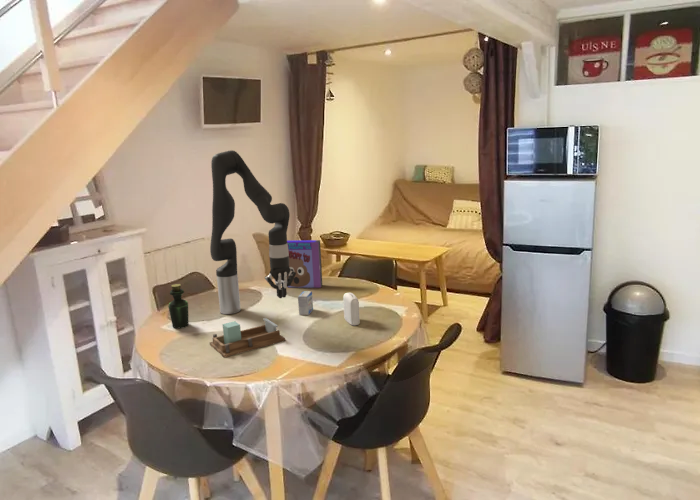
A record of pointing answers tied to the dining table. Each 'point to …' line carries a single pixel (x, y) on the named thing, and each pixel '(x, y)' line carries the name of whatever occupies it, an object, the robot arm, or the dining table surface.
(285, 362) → the dining table surface
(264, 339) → the housing
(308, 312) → the medicine box
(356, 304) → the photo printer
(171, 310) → the potion bottle
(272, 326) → the gate
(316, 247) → the cereal box
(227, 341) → the block
